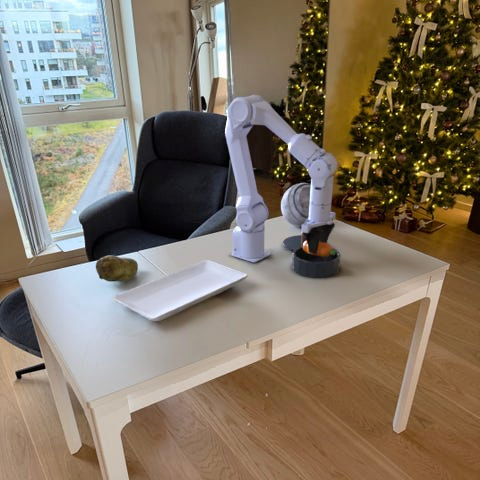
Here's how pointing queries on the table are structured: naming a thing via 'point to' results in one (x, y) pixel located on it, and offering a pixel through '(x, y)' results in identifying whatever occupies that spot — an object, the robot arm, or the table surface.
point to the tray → (180, 290)
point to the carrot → (320, 249)
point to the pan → (315, 264)
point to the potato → (116, 268)
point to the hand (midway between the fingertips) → (316, 250)
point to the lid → (294, 242)
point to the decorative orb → (296, 204)
